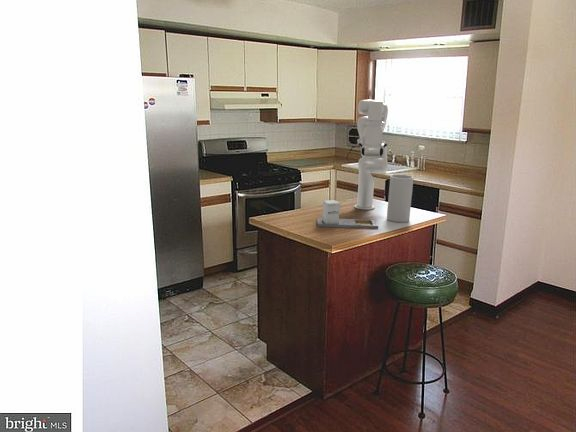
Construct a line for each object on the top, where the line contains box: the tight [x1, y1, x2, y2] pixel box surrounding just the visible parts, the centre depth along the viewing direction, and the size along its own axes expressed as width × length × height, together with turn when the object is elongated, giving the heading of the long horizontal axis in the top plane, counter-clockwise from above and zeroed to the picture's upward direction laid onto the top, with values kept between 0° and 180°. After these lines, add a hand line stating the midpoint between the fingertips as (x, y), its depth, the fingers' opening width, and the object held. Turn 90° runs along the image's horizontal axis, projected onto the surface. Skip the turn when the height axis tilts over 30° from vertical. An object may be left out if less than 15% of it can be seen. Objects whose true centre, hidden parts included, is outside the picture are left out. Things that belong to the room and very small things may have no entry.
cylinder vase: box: [386, 174, 414, 223], centre depth 257 cm, size 12×12×25 cm
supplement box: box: [321, 199, 341, 224], centre depth 247 cm, size 7×7×13 cm
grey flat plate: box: [316, 217, 379, 230], centre depth 248 cm, size 12×32×2 cm, turn 87°
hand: (371, 155), depth 253 cm, fingers open, 9 cm apart
